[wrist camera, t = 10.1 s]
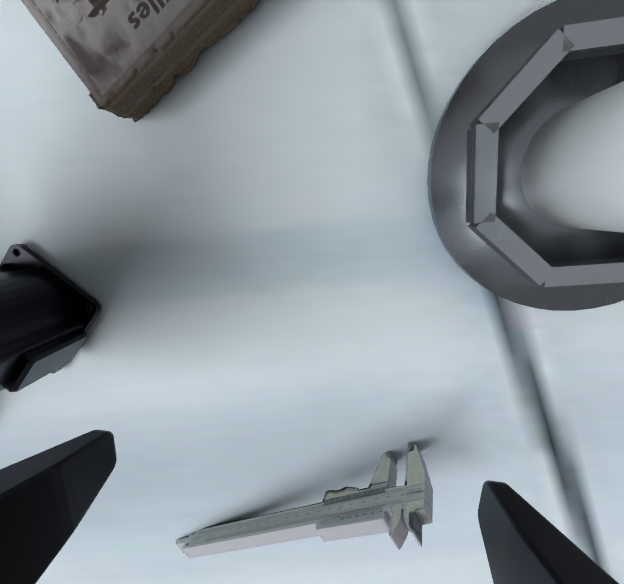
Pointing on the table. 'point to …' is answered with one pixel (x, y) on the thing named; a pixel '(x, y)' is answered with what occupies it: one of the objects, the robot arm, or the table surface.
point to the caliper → (334, 514)
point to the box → (134, 43)
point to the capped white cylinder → (579, 164)
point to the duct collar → (509, 155)
